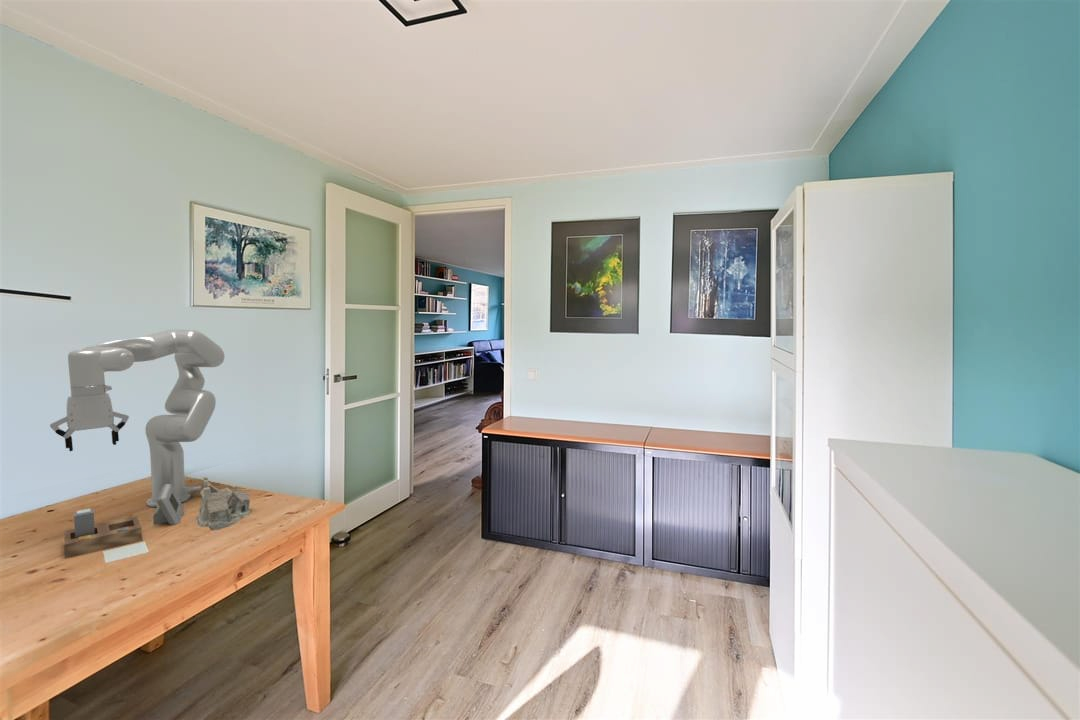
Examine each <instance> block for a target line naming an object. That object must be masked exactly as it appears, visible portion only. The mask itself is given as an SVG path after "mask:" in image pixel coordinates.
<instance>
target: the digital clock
mask: <svg viewBox="0 0 1080 720" xmlns="http://www.w3.org/2000/svg"><path fill="white" fill-rule="evenodd" d="M157 503H158V506H157V507H155V508H156V509H155V511H154V514H153V515H152V517H153V518H152V519H153V521H152V522H153V523H152V524H153V525H159V524H166V523H168V524H169V526H176V525H178V524H180V523H181V521H182V519H183V515H184V511H185V508H184V505H183V504H182V503H181V502H180V500H179V498H178V497H177V495H176V493H175V491H174V489H173V487H172V486H171V485H170V484H166V485H164V486H163V487H162V489H161V491H160V494H159V496H158V499H157Z"/></svg>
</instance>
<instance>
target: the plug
mask: <svg viewBox="0 0 1080 720" xmlns="http://www.w3.org/2000/svg"><path fill="white" fill-rule="evenodd" d="M94 513H95V511H94V508H87V509H86V508H85V509H80V510H76V511H74V512H73V519H74V529H75V538H79V537H81V536H86V535H93V534H95V528H94V525H95V514H94Z"/></svg>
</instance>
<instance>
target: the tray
mask: <svg viewBox="0 0 1080 720" xmlns="http://www.w3.org/2000/svg"><path fill="white" fill-rule="evenodd" d="M102 553H103V558H104V563H105V564H107V563H111V562H116V561H119V560H125V559H127V558H132V557H135V556H139V555H143V554H147V553H149V548H148V546H147V543H146V541H139V542H135V543H131V544H127V545H123V546H118V547H114V548H112V549H111V548H110V549H106V550H102Z"/></svg>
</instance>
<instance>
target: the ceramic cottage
mask: <svg viewBox="0 0 1080 720" xmlns="http://www.w3.org/2000/svg"><path fill="white" fill-rule="evenodd" d="M237 487H238V486H237V485H232V486H231V488H232V489H230V488H228V487H225V488H222V489H219V488H218V487H216V486H214V485H212V484H211V483H210V481H209V478H208V476H203V488H202V489H201V491H199V493H200V496H201V504H200V507H199V513H198V515H197V516H196V517H195V519H196V521H197V524H196V525H198V526H199V527H200V528H201V527H204V528H206V527H207V528H209V529H210V531H216V530H220V529H224V528H226V527H230V526H232V525H234V524H236V523H237V521H238V522H239V521H241V520H242V518H243V519H244V517H245V516H246V517H248V516H249V514H250V513H251V514H252V511H251V509H250V508H249V507H250V504H251V501H250V497H249V492H248V490H247V489H245V490H241V491H239V490H238V488H237ZM251 514H250V515H251ZM247 515H248V516H247ZM246 517H245V518H246Z"/></svg>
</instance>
